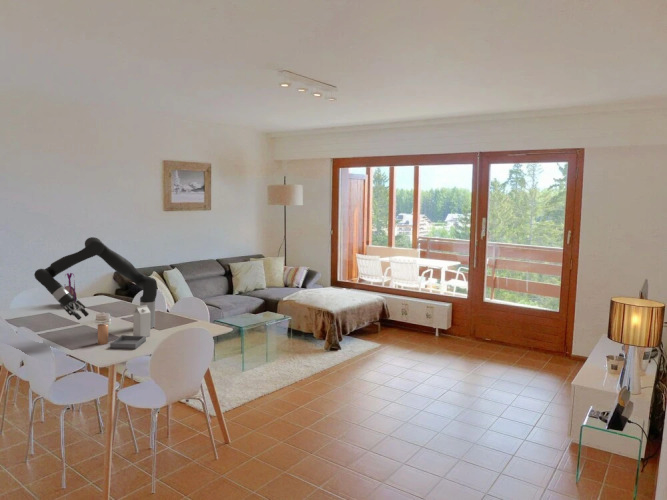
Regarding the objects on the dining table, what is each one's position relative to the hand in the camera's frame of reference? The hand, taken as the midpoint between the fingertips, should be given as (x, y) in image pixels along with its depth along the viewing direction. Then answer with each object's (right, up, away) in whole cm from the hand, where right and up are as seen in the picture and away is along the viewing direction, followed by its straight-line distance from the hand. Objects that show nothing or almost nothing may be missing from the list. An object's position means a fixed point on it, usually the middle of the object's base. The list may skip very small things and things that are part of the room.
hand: (83, 317), depth 280 cm
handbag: (-56, -4, +89) cm, 105 cm away
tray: (+25, -16, +1) cm, 30 cm away
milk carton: (+26, -15, +19) cm, 35 cm away
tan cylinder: (+10, -15, +2) cm, 18 cm away
